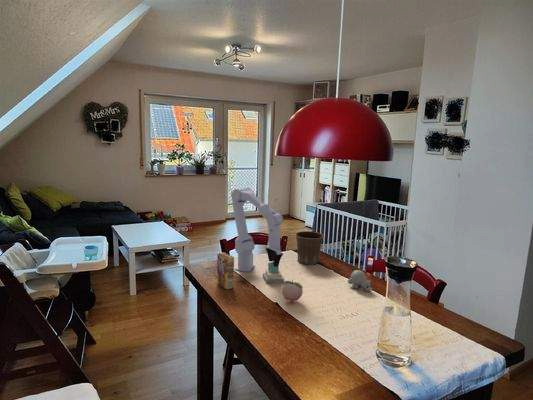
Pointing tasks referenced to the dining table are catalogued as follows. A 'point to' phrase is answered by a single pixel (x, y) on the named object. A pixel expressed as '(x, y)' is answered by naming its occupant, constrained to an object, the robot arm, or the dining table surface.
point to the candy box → (225, 270)
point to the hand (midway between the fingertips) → (273, 263)
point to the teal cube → (272, 268)
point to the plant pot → (308, 246)
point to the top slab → (273, 275)
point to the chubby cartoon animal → (359, 280)
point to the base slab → (272, 279)
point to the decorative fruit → (292, 290)
